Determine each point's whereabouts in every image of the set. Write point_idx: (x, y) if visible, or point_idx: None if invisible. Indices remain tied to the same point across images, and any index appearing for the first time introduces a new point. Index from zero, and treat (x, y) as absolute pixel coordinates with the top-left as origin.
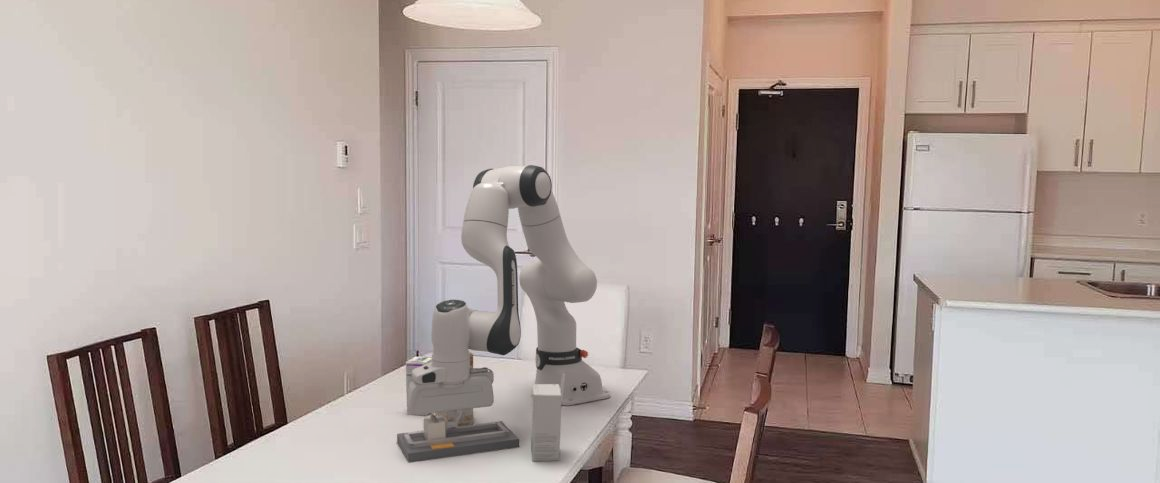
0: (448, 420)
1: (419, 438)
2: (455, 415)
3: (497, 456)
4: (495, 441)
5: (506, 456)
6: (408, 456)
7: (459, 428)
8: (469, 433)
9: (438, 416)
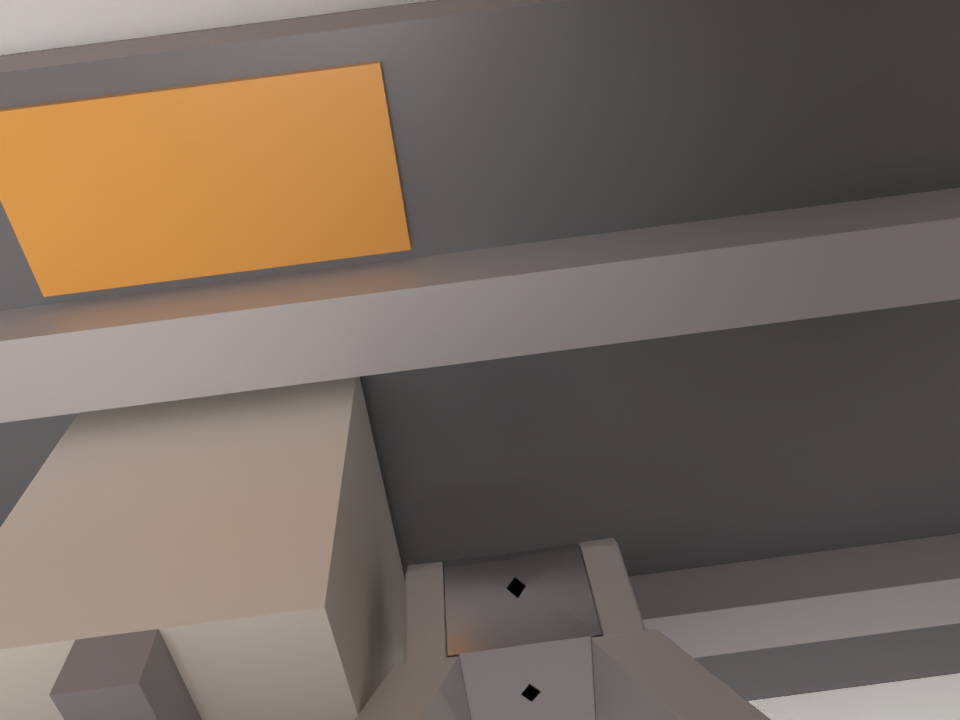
0: (487, 679)
1: (34, 446)
2: (654, 712)
3: (838, 704)
4: (946, 666)
5: (905, 712)
6: None
7: (687, 333)
8: (788, 388)
9: (277, 658)
